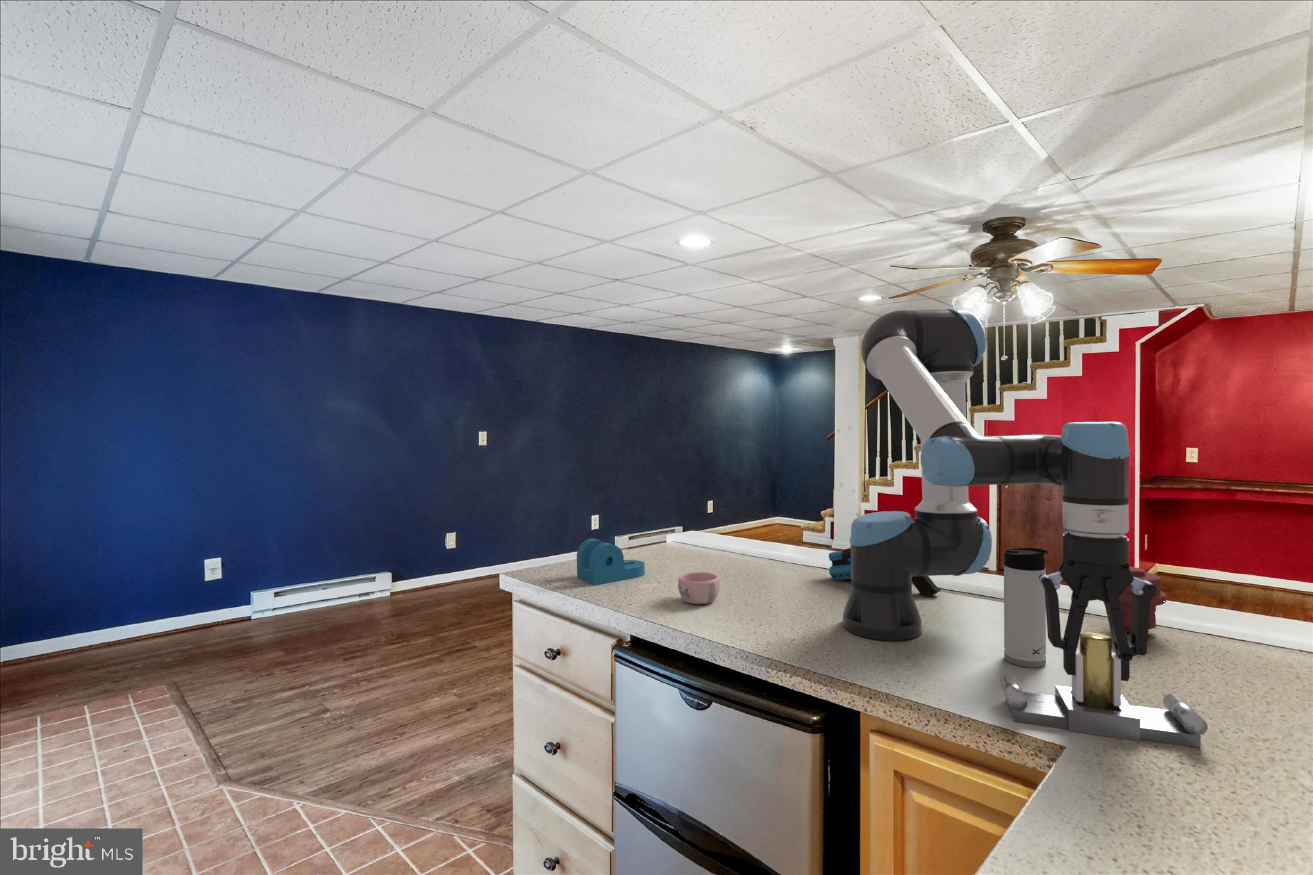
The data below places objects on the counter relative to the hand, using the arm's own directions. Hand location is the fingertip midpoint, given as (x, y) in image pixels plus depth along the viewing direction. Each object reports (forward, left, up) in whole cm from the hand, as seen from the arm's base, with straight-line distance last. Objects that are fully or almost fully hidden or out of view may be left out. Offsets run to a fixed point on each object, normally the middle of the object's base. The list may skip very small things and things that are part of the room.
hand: (1095, 699), depth 86 cm
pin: (0, 0, -1) cm, 1 cm away
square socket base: (0, 0, -3) cm, 3 cm away
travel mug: (-5, +21, -4) cm, 22 cm away
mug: (-71, +38, -4) cm, 81 cm away
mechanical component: (+17, +44, -4) cm, 47 cm away
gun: (-30, +64, -4) cm, 70 cm away
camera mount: (-100, +53, -4) cm, 113 cm away
